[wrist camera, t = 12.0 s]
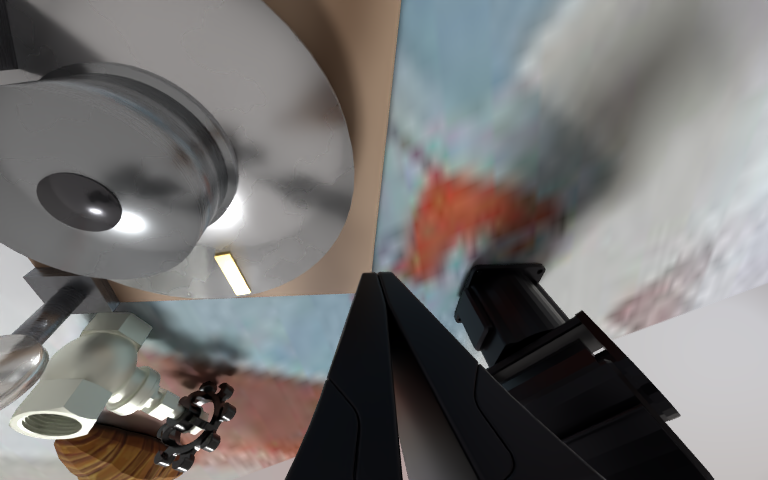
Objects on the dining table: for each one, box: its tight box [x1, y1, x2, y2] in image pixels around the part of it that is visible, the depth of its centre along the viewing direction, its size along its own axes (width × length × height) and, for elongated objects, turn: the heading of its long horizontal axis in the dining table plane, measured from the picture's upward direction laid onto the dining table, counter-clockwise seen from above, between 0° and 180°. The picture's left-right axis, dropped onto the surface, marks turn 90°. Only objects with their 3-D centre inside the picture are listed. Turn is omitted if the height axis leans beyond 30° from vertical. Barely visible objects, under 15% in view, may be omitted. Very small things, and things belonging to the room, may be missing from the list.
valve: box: [9, 312, 236, 472], centre depth 20 cm, size 7×7×12 cm
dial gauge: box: [0, 267, 120, 410], centre depth 14 cm, size 4×3×8 cm
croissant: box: [54, 424, 183, 480], centre depth 28 cm, size 14×7×5 cm, turn 22°
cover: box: [0, 62, 239, 280], centre depth 10 cm, size 7×7×4 cm
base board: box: [29, 0, 401, 302], centre depth 14 cm, size 19×19×1 cm
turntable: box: [0, 0, 354, 299], centre depth 12 cm, size 16×16×5 cm
